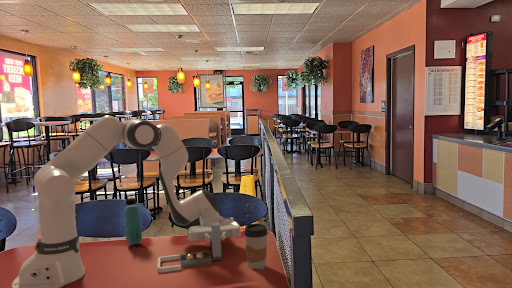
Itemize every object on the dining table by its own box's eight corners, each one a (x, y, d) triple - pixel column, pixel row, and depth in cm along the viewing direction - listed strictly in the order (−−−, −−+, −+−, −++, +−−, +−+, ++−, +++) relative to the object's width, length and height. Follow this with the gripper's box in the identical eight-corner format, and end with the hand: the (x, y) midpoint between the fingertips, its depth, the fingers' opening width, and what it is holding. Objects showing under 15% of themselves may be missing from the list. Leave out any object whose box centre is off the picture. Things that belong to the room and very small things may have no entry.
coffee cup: (240, 268, 138) (238, 227, 136) (256, 260, 144) (254, 221, 142) (257, 275, 133) (256, 233, 131) (273, 266, 139) (272, 226, 137)
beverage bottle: (137, 248, 159) (134, 201, 157) (123, 247, 161) (119, 200, 158) (145, 242, 166) (142, 196, 163) (131, 241, 167) (127, 196, 164)
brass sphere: (196, 263, 141) (195, 255, 141) (195, 259, 144) (195, 252, 144) (204, 262, 142) (203, 254, 141) (203, 258, 145) (203, 251, 144)
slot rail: (181, 270, 138) (180, 262, 138) (180, 261, 145) (180, 254, 145) (211, 266, 140) (211, 258, 140) (209, 258, 147) (209, 250, 147)
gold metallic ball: (186, 264, 141) (185, 256, 140) (186, 260, 143) (185, 253, 143) (194, 263, 141) (194, 255, 141) (194, 259, 144) (193, 252, 144)
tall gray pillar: (213, 260, 142) (211, 226, 140) (212, 256, 146) (210, 222, 144) (221, 259, 143) (220, 225, 141) (220, 255, 147) (218, 222, 145)
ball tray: (157, 275, 135) (157, 268, 134) (158, 263, 144) (158, 256, 144) (181, 272, 136) (180, 265, 136) (180, 260, 146) (180, 254, 146)
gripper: (185, 221, 153) (187, 233, 140) (236, 216, 157) (243, 228, 144) (186, 237, 154) (188, 250, 141) (237, 231, 158) (243, 244, 145)
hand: (216, 239), depth 142 cm, fingers closed on tall gray pillar, 3 cm apart
